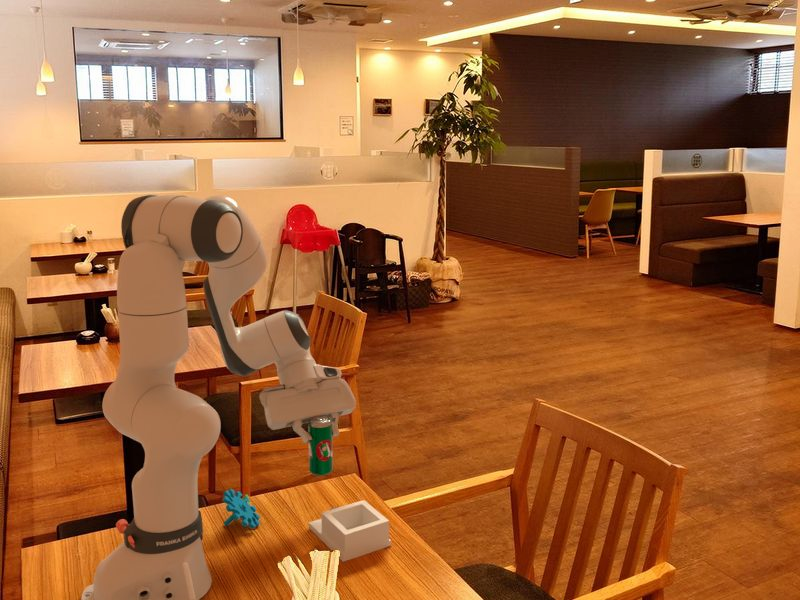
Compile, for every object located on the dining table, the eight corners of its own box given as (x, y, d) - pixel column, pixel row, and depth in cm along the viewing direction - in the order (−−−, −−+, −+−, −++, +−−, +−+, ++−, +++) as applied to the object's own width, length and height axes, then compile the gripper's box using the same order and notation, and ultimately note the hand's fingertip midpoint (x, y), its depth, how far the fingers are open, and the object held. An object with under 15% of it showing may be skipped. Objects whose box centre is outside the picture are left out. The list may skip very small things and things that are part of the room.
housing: (343, 561, 149) (342, 535, 148) (308, 527, 162) (308, 502, 160) (391, 545, 155) (391, 520, 154) (354, 513, 167) (354, 489, 166)
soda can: (312, 465, 168) (311, 414, 166) (335, 467, 168) (334, 415, 165) (306, 475, 163) (305, 422, 161) (329, 477, 163) (329, 424, 160)
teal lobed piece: (256, 531, 157) (221, 497, 156) (236, 550, 157) (201, 516, 157) (267, 511, 168) (235, 479, 167) (249, 529, 168) (216, 497, 168)
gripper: (260, 382, 161) (280, 442, 156) (346, 367, 172) (368, 422, 166) (253, 396, 166) (272, 454, 160) (336, 380, 177) (357, 435, 171)
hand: (321, 438), depth 163 cm, fingers closed on soda can, 5 cm apart
